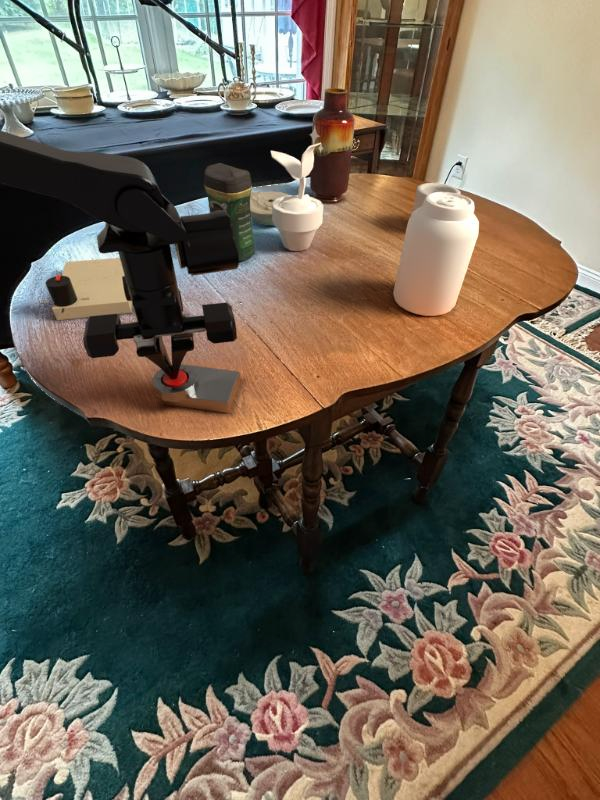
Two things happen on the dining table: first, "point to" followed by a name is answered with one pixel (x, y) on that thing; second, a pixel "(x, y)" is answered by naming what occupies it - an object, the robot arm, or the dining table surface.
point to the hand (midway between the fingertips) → (174, 376)
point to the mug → (431, 188)
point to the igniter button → (175, 380)
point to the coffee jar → (232, 202)
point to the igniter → (200, 388)
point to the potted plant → (297, 203)
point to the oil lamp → (263, 206)
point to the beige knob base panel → (94, 289)
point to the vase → (332, 147)
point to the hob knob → (61, 290)
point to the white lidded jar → (436, 254)
